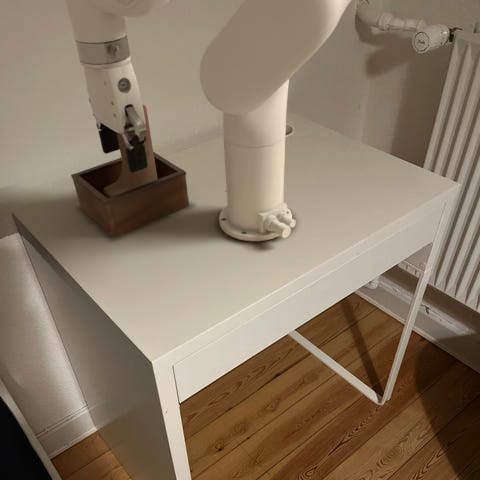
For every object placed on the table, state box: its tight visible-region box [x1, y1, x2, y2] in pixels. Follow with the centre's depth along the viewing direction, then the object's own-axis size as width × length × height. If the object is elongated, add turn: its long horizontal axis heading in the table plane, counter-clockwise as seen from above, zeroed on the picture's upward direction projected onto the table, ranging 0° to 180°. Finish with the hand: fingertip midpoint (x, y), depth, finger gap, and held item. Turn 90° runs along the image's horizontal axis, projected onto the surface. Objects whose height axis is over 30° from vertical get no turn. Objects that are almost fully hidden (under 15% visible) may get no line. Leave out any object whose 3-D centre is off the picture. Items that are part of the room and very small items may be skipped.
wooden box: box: [70, 151, 190, 238], centre depth 91 cm, size 13×16×7 cm
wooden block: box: [103, 103, 158, 199], centre depth 87 cm, size 9×4×18 cm, turn 124°
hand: (125, 159), depth 87 cm, fingers open, 8 cm apart
